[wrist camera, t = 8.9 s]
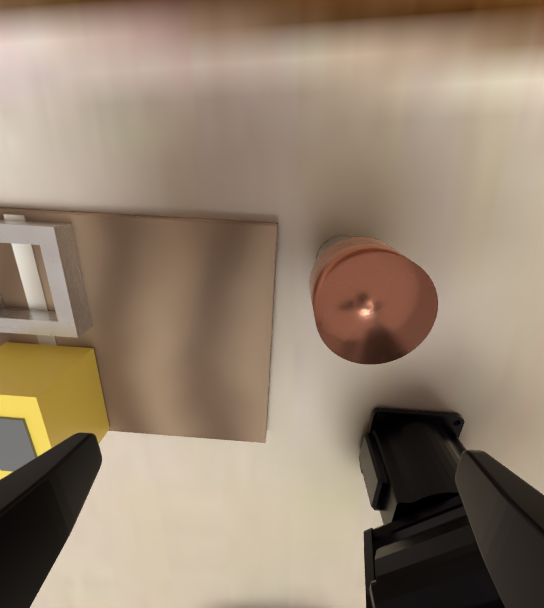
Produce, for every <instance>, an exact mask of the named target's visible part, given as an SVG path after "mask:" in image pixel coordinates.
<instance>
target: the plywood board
mask: <svg viewBox="0 0 544 608" xmlns="http://www.w3.org/2000/svg"><path fill="white" fill-rule="evenodd" d="M0 219H5V220H17V221H40V222H57V223H72V224H73V229H74V234H75V239H76V244H77V250H78V255H79V260H80V265H81V270H82V275H83V280H84V285H85V290H86V295H87V301H88V306H89V311H90V316H91V321H92V326H93V327H92V328H90V329H89V330H88V331H86V332H85V333H84V334H82V335H81V336H80V337H78V338H75V337H60V336H46V335H32V334H17V333H3V332H0V346H1V345H2V344H4V343H6V342H14V343H28V344H42V345H56V346H70V347H84V348H94V353H95V358H96V363H97V368H98V373H99V378H100V383H101V388H102V393H103V397H104V402H105V407H106V412H107V417H108V422H109V427H110V429H109V430H108V431H121V432H133V433H146V434H159V435H171V436H184V437H196V438H209V439H222V440H234V441H247V442H260V443H265V442H266V430H267V412H268V394H269V375H270V357H271V338H272V320H273V301H274V283H275V264H276V246H277V227H278V223H264V222H246V221H229V220H211V219H193V218H176V217H158V216H140V215H123V214H105V213H88V212H70V211H52V210H35V209H17V208H0ZM0 292H1V295H2V298H3V301H4V305H5V307H11V308H26V309H31V310H45V311H48V310H55V306H54V302H53V298H52V294H51V290H50V286H49V282H48V278H47V273H46V269H45V265H44V261H43V257H42V253H41V249H40V245H32V244H15V243H0Z"/></svg>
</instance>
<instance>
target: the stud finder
mask: <svg viewBox="0 0 544 608" xmlns="http://www.w3.org/2000/svg"><path fill="white" fill-rule="evenodd" d="M109 429H110V427H109V422H108V417H107V412H106V407H105V402H104V397H103V393H102V388H101V383H100V378H99V373H98V368H97V363H96V358H95V353H94V348H84V347H70V346H56V345H42V344H28V343H14V342H6V343H4V344H2V345H1V346H0V480H1V479H2V478H4V477H5V476H7V475H9V474H10V473H12V472H14V471H15V470H17V469H18V468H20V467H22V466H23V465H25V464H27V463H28V462H30V461H31V460H33V459H35V458H36V457H38V456H40V455H41V454H43V453H44V452H46V451H48V450H49V449H51V448H53V447H54V446H56V445H57V444H59V443H61V442H62V441H64V440H65V439H67V438H69V437H70V436H72V435H74V434H76V433H79V432H82V433H94V434H95V435H96V437H97V441H98V444H99V442H100V441H101V440H102V438H103V437H104V436H105V434H106V433H107V431H108V430H109Z"/></svg>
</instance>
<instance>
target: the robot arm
mask: <svg viewBox="0 0 544 608" xmlns="http://www.w3.org/2000/svg"><path fill="white" fill-rule="evenodd" d="M379 414H382V415H380V416H377V415H379ZM455 420H457V421H455ZM463 424H464V420H463V418H462V417H461V416H460V415H459V414H456V413H443V412H430V411H417V410H403V409H390V408H376V409H374V410H373V411H372V415H371V419H370V424H369V428H368V432H366V433H365V434H364V437H363V441H362V446H361V451H360V455H359V460H360V464H361V465H360V469H361V472H362V474H363V476H364V480H365V484H366V488H367V492H368V496H369V500H370V504H371V507H372V508H373V509H374V510H379V511H380V513H381V517H382V520H383V524H384V525H383V526H380V527H378V528H375V529H373V528H370V529H368V530H365V531H364V559H365V585H366V608H544V495H543V494H542V493H540V492H539V491H537V490H536V489H535V488H533V487H532V486H531V485H529V484H528V483H527V482H525V481H524V480H522V479H521V478H520V477H518V476H517V475H516V474H514V473H513V472H512V471H510V470H509V469H508V468H506V467H505V466H503V465H502V464H501V463H499V462H498V461H497V460H495V459H494V458H493V457H491V456H490V455H488V454H487V453H485V452H484V451H480V450H466V449H465V447H464V446H463V444H462V443H461V441H460V440H459V435H460V433H461V430H462V427H463ZM101 463H102V455H101V451H100V448H99V444H98V441H97V437H96V435H95V434H94V433H82V432H79V433H76V434H74V435H72V436H70V437H69V438H67V439H65V440H64V441H62V442H61V443H59V444H57V445H56V446H54V447H53V448H51V449H49V450H48V451H46V452H44V453H43V454H41V455H40V456H38V457H36V458H35V459H33V460H31V461H30V462H28V463H27V464H25V465H23V466H22V467H20V468H18V469H17V470H15V471H14V472H12V473H10V474H9V475H7V476H5V477H4V478H2V479H1V480H0V608H30V606H31V604H32V602H33V601H34V599H35V597H36V595H37V593H38V592H39V590H40V588H41V586H42V584H43V583H44V581H45V579H46V577H47V575H48V573H49V572H50V570H51V568H52V566H53V564H54V563H55V561H56V559H57V557H58V555H59V554H60V552H61V550H62V548H63V546H64V544H65V543H66V541H67V539H68V537H69V535H70V533H71V531H72V529H73V527H74V525H75V523H76V520H77V518H78V516H79V514H80V511H81V509H82V507H83V505H84V502H85V500H86V498H87V496H88V494H89V491H90V489H91V487H92V485H93V482H94V480H95V478H96V476H97V473H98V471H99V469H100V466H101Z"/></svg>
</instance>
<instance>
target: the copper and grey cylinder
mask: <svg viewBox="0 0 544 608" xmlns="http://www.w3.org/2000/svg"><path fill="white" fill-rule="evenodd" d="M310 294H311V299H312V305H313V310H314V315H315V321H316V326H317V329H318V332H319V334H320V337H321V338H322V340H323V342H324V343H325V344H326V345H327V347H328V348H329V349H330V350H331V351H332V352H334V353H335V354H337V355H338V356H340V357H342V358H344V359H346V360H348V361H351V362H355V363H359V364H381V363H386V362H390V361H393V360H396V359H398V358H401V357H403V356H404V355H406V354H408V353H410V352H411V351H412V350H414V349H415V348H416V347H417V346H418V345H419V344H421V342H422V341H423V340H424V339H425V338H426V337H427V335H428V334H429V332H430V330H431V329H432V327H433V325H434V322H435V319H436V315H437V310H438V298H437V293H436V289H435V286H434V284H433V282H432V280H431V279H430V277H429V276H428V274H427V273H426V272H425V271H424V270H423V269H422V268H421V267H419V266H418V265H417V264H415V263H414V262H412V261H411V260H409V259H408V258H406V257H405V256H403V255H402V254H400V253H399V252H397V251H396V250H394V249H393V248H391V247H390V246H388V245H386V244H385V243H383V242H381V241H379V240H377V239H373V238H368V237H353V238H352V237H349V236H337V237H334V238H331V239H330V240H328V241H327V242H325V243H324V244H323V245H322V247H321V248H320V250H319V252H318V255H317V261H316V263H315V265H314V267H313V269H312V272H311V276H310Z"/></svg>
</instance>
